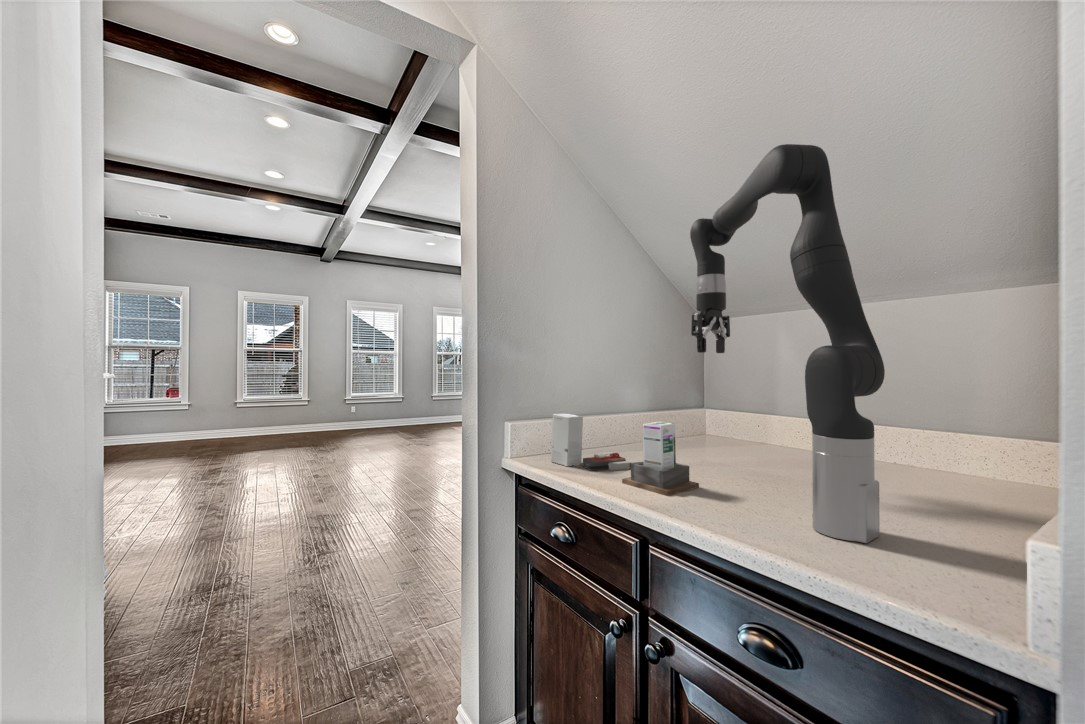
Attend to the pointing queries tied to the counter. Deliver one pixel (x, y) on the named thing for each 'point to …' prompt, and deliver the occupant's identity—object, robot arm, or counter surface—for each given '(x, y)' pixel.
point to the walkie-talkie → (606, 462)
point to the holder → (660, 479)
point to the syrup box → (659, 445)
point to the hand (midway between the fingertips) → (711, 352)
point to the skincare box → (566, 439)
